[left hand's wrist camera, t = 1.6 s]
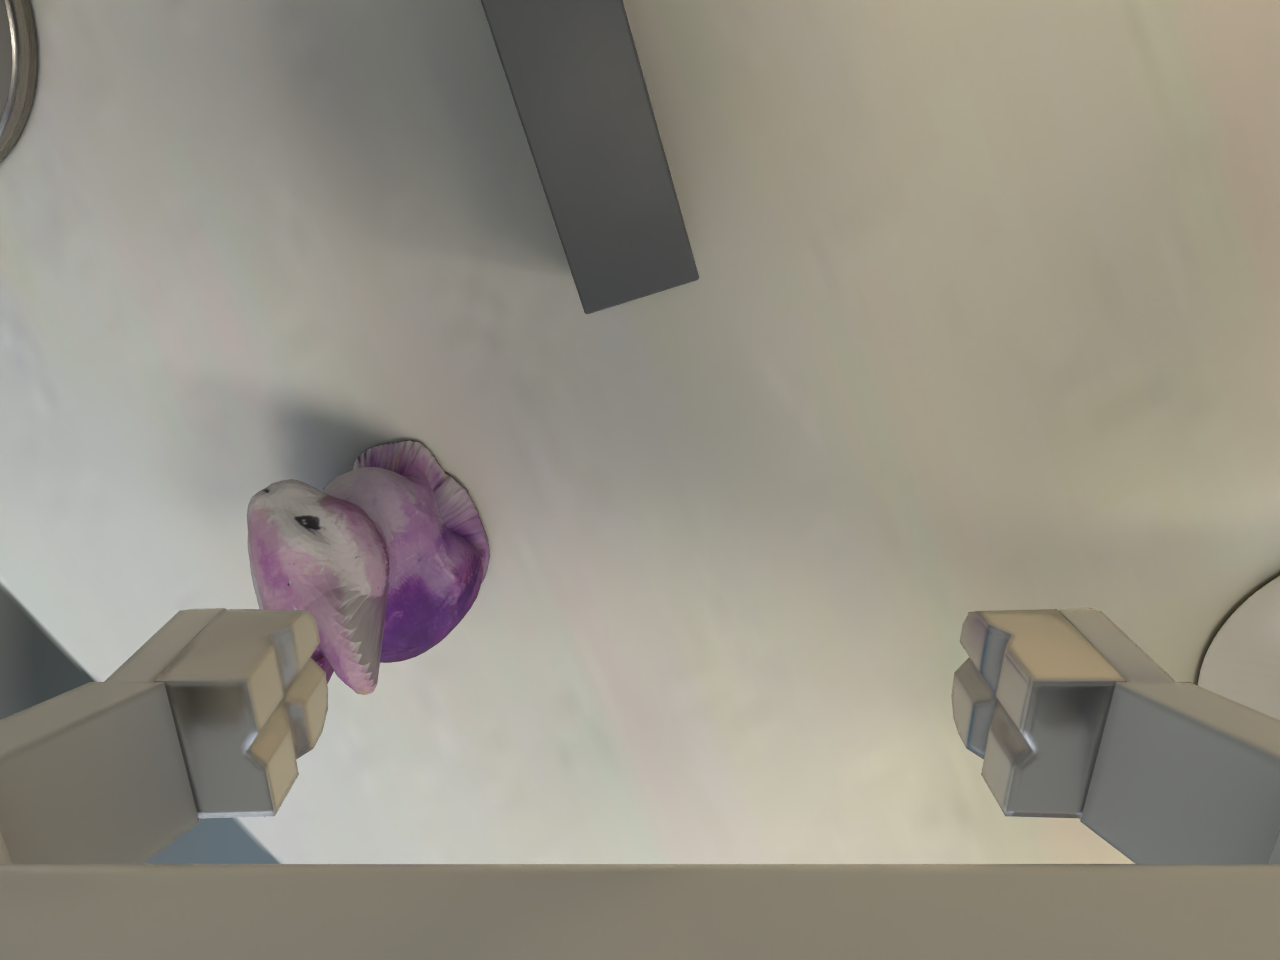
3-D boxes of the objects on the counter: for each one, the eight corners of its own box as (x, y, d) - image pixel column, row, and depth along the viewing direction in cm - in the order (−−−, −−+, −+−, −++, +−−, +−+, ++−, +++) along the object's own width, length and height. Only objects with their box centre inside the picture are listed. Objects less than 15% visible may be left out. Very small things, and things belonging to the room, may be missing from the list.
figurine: (360, 395, 40) (197, 522, 26) (533, 506, 42) (470, 679, 28) (276, 535, 43) (90, 716, 29) (442, 632, 45) (344, 846, 31)
